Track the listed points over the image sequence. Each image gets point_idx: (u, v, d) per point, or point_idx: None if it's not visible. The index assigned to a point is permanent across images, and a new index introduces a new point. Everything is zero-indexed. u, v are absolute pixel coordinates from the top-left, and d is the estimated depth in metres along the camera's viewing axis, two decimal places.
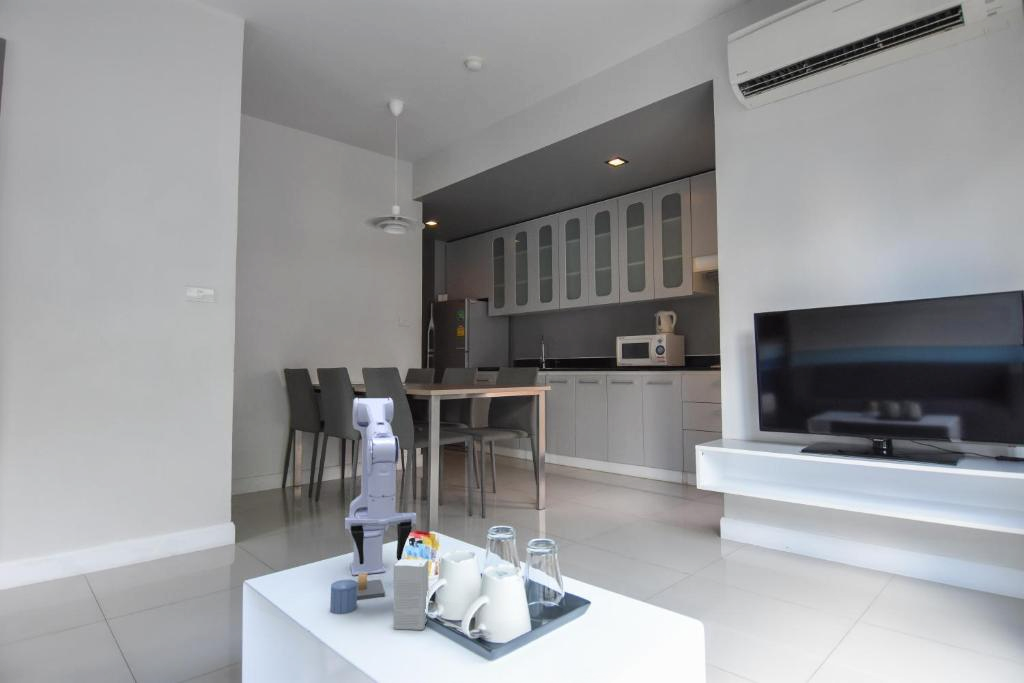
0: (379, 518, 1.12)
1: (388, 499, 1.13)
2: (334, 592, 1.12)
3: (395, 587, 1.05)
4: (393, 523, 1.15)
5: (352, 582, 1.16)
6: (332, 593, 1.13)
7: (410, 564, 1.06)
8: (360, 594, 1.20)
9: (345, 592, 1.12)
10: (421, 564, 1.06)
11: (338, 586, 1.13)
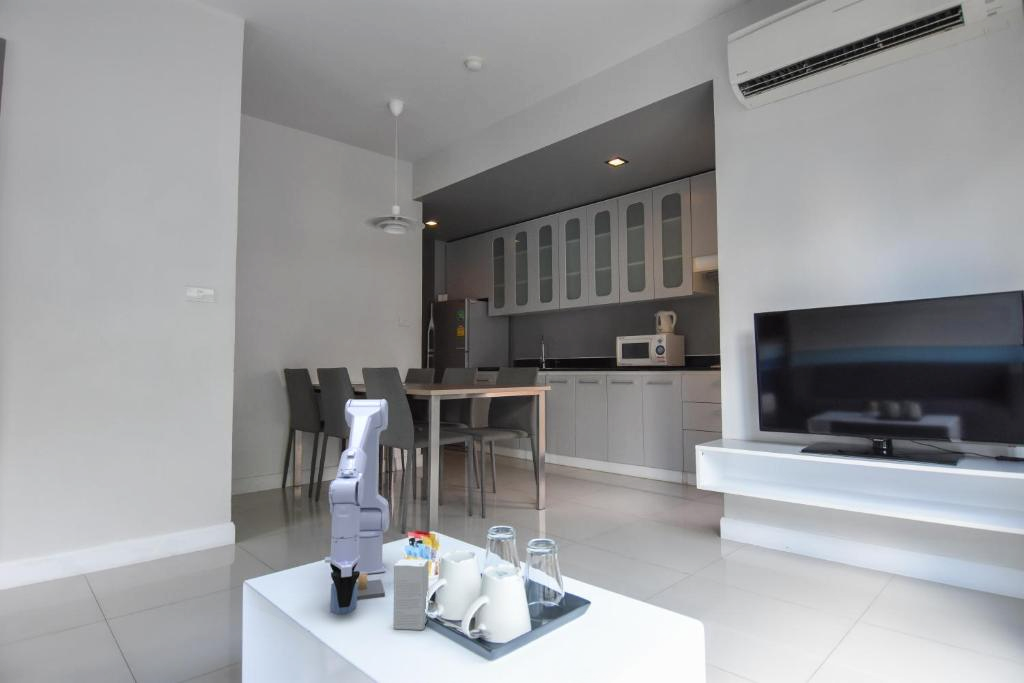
0: (330, 556, 1.15)
1: (332, 540, 1.14)
2: (334, 592, 1.12)
3: (395, 587, 1.05)
4: None
5: None
6: (332, 593, 1.13)
7: (410, 564, 1.06)
8: (360, 594, 1.20)
9: None
10: (421, 564, 1.06)
11: None
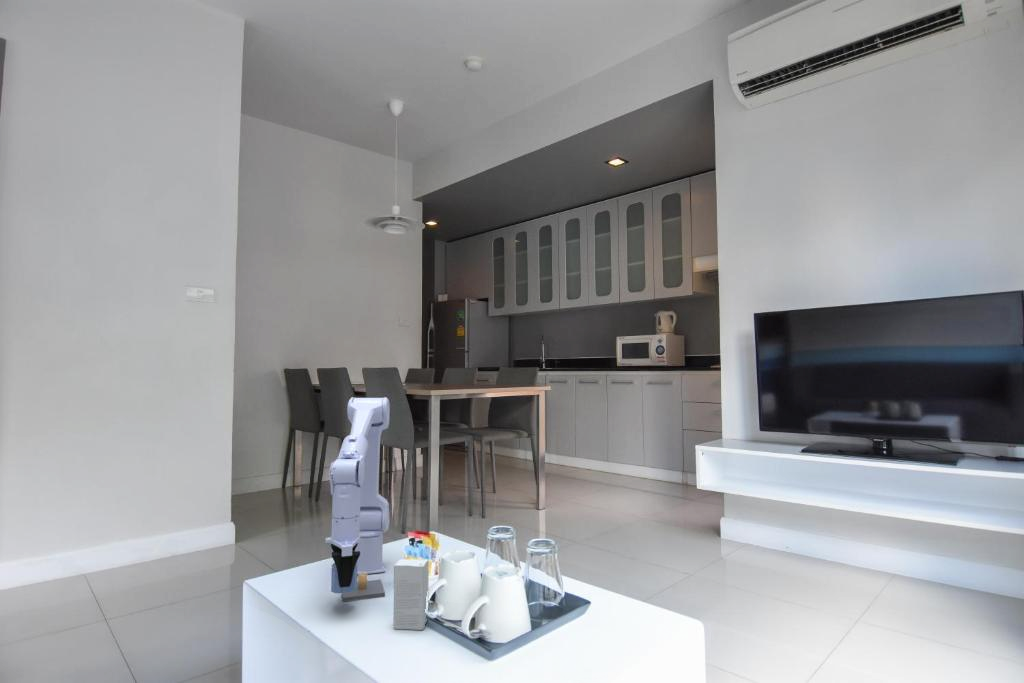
0: (331, 536, 1.15)
1: (333, 520, 1.14)
2: (335, 572, 1.13)
3: (395, 587, 1.05)
4: None
5: None
6: (333, 573, 1.13)
7: (410, 564, 1.06)
8: (360, 594, 1.20)
9: None
10: (421, 564, 1.06)
11: None
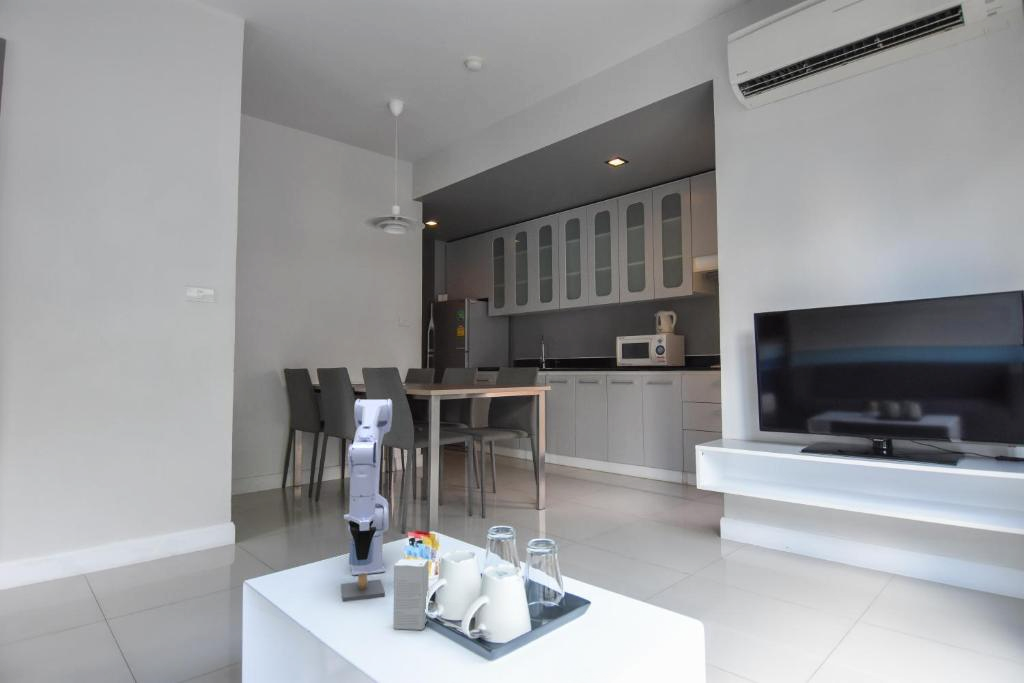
0: (349, 513, 1.24)
1: (351, 498, 1.23)
2: (353, 546, 1.21)
3: (395, 587, 1.05)
4: None
5: None
6: (351, 547, 1.22)
7: (410, 564, 1.06)
8: (360, 594, 1.20)
9: None
10: (422, 564, 1.06)
11: None
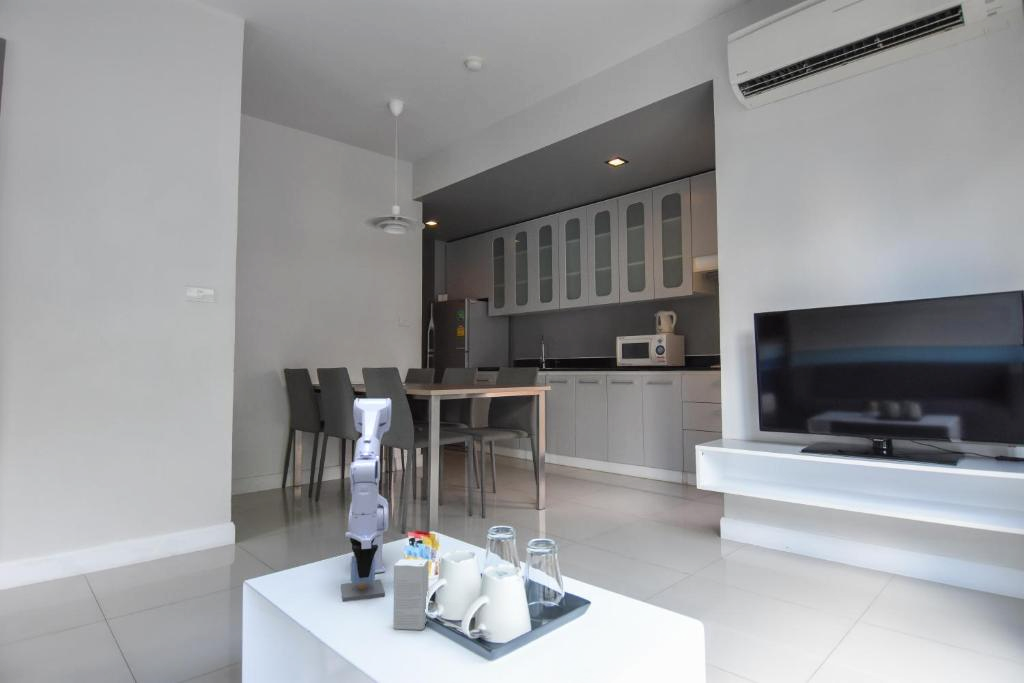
0: (350, 531, 1.25)
1: (352, 516, 1.23)
2: (354, 564, 1.22)
3: (395, 587, 1.05)
4: None
5: None
6: (352, 565, 1.22)
7: (410, 564, 1.06)
8: (360, 594, 1.20)
9: None
10: (421, 564, 1.06)
11: None
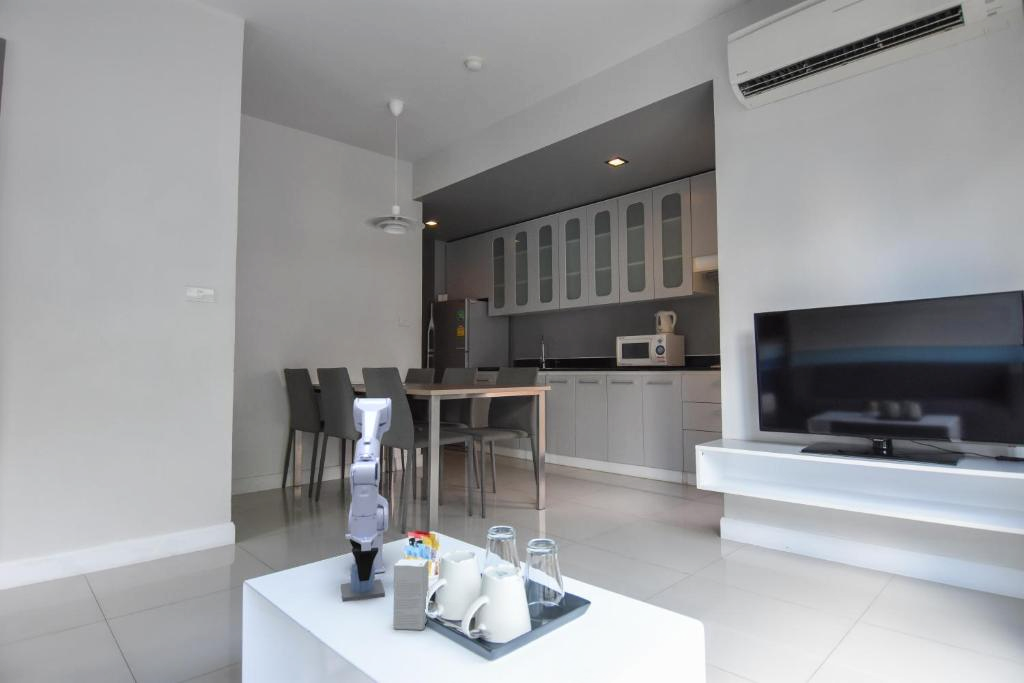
0: None
1: (352, 518, 1.23)
2: (354, 573, 1.22)
3: (395, 587, 1.05)
4: None
5: None
6: (352, 574, 1.22)
7: (410, 564, 1.06)
8: (360, 594, 1.20)
9: None
10: (421, 564, 1.06)
11: None
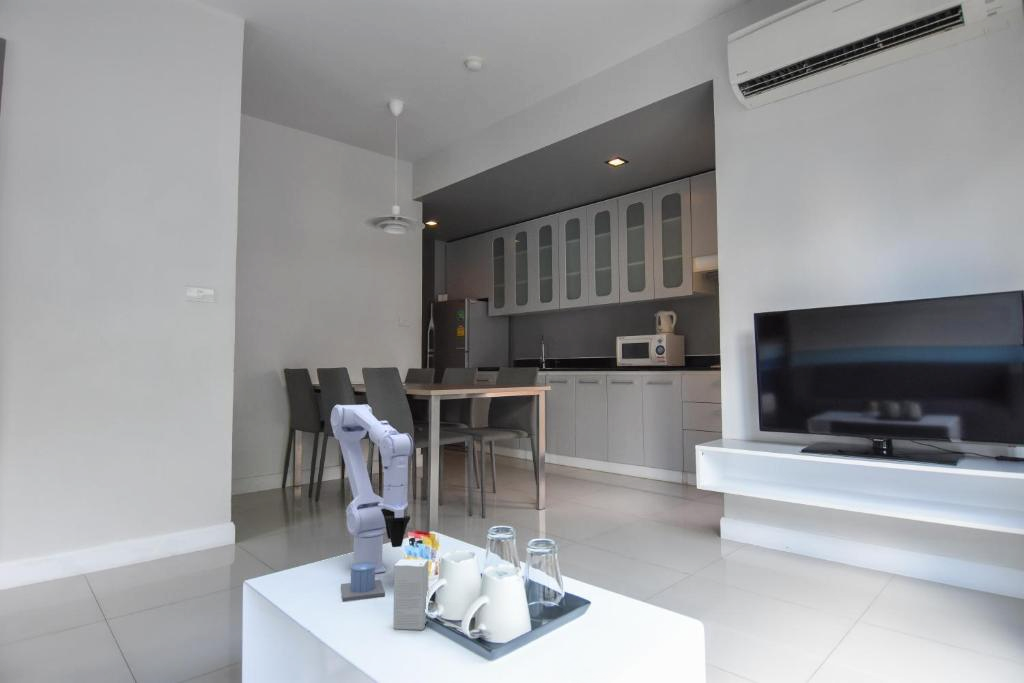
0: (382, 502, 1.31)
1: (385, 488, 1.30)
2: (354, 573, 1.22)
3: (395, 587, 1.05)
4: None
5: (370, 564, 1.25)
6: (352, 574, 1.22)
7: (410, 564, 1.06)
8: (360, 594, 1.20)
9: (364, 573, 1.22)
10: (421, 564, 1.06)
11: (357, 567, 1.23)
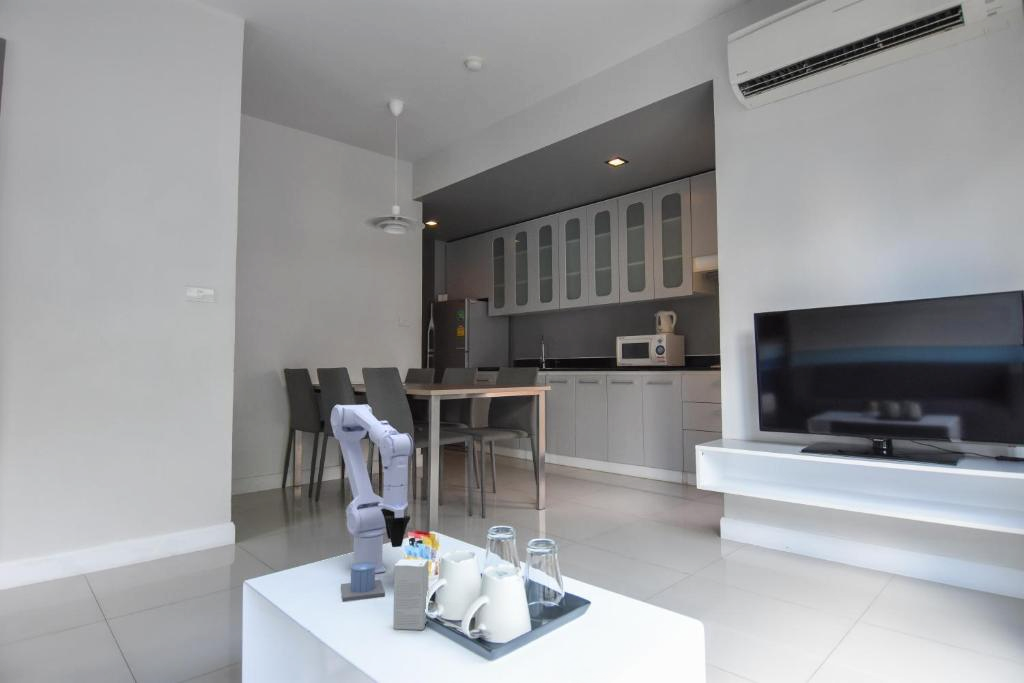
0: (382, 502, 1.31)
1: (385, 488, 1.30)
2: (354, 573, 1.22)
3: (395, 587, 1.05)
4: None
5: (370, 564, 1.25)
6: (352, 574, 1.22)
7: (410, 564, 1.06)
8: (360, 594, 1.20)
9: (364, 573, 1.22)
10: (421, 564, 1.06)
11: (357, 567, 1.23)
